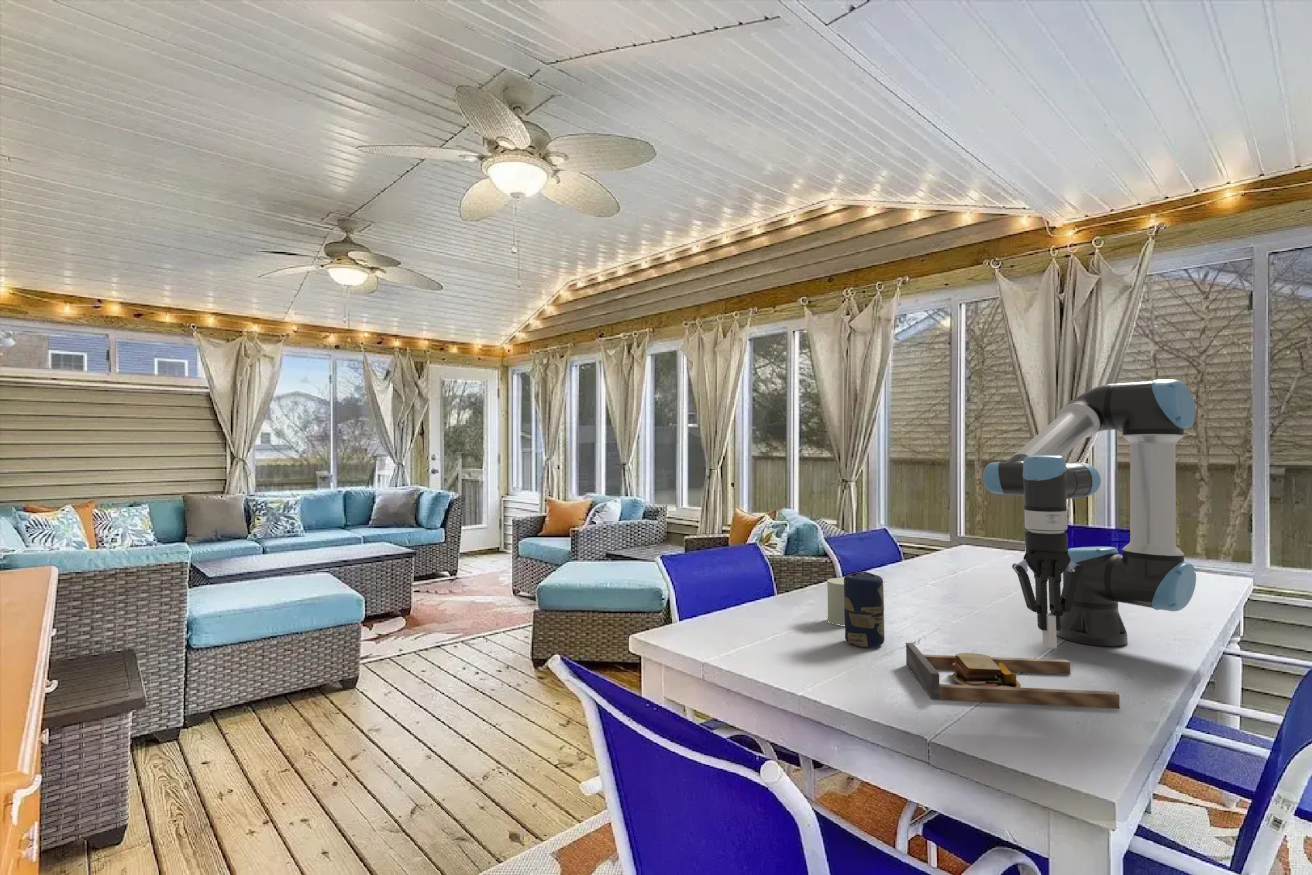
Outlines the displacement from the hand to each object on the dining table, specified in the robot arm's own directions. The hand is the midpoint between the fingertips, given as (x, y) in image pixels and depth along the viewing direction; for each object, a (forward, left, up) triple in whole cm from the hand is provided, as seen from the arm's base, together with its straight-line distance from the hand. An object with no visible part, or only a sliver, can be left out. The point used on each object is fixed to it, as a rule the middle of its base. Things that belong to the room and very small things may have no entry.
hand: (1049, 645), depth 131 cm
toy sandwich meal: (+13, 0, -9) cm, 16 cm away
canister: (+32, -25, -8) cm, 42 cm away
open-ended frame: (+8, 0, -8) cm, 12 cm away
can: (+34, -45, -8) cm, 57 cm away
